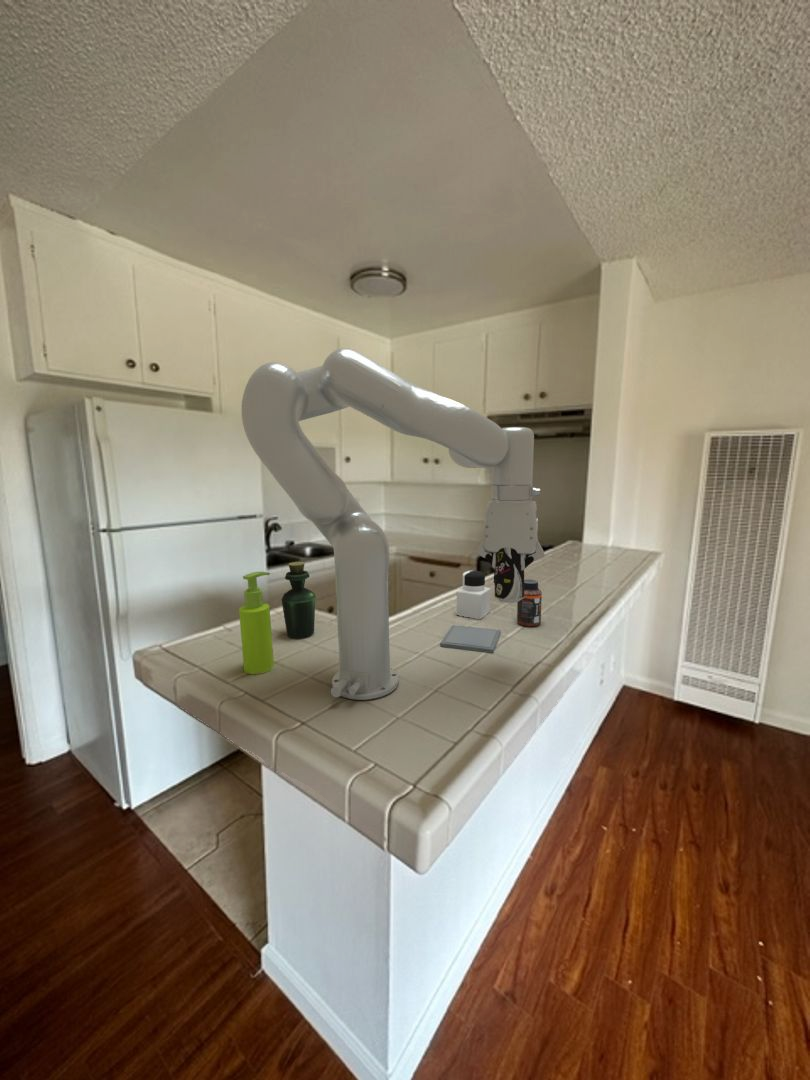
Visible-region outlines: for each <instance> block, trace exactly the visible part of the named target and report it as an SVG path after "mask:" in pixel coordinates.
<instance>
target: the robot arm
mask: <svg viewBox="0 0 810 1080" xmlns="http://www.w3.org/2000/svg"><path fill="white" fill-rule="evenodd" d="M347 408H351V409H353V410H355V411H357V412H360V413H362V414H363V415H366V416H367V417H369V418H371V419H373V420H375V421H376V422H378V423H380V424H381V425H383V426H385V427H387V428H389V429H390V430H392V431H395V432H397V433H400V434H402V435H406V436H410V437H415V438H421V439H425V440H427V441H431V442H434V443H436V444H439V445H441V446H443V447H444V448H447V449H448V455H449V456H450V458H451V460H452V461H453V463H455V464H456V465H458V466H460V467H462V468H465V469H478V468H479V469H488V468H491V493H490V494H491V496H490V497H491V498H490V500H488V501H487V504H486V508H485V514H484V523H483V531H482V533H483V534H482V539H481V541H480V543H479V545H477V548H476V550H475V553H476V555H479V556H480V557H482V558H484V559H485V561H487V562H488V563H489V564H490V565H491V566H492V568H493V584H494V583H495V569H496V568H495V567H496V566H495V565H496V564H495V563H496V553H497V552H498V551H499V550H500V549H501V548H505V547H510V548H513V549H515V550H516V551H517V553H518V554H521V565H522V568H521V569H522V570H523V576H524V577H525V569H526V568H527V567H529V566H530V565H532V563H534V562H536V561H538V560H541V559H543V558H544V557H545V555H546V553H545V551H544V549H543V547H542V545H541V543H540V542H539V519H538V517H539V516H538V507H537V501H535V500H533V501H532V499H533V498H534V497H536V496H537V497H538V496H541V488H537V487H534V486H533V478H534V477H533V474H534V473H533V472H534V449H535V448H534V447H535V445H534V444H535V435H534V431H533V430H532V429H531V428H529V427H524V426H510V427H500V425H499V424H497V423H496V422H495V421H493V420H491V419H490V418H487V416H484V415H482V414H481V413H479V412H477V410H474V409H472V408H471V407H469V406H466V405H465V404H463V403H461V402H458V401H457V400H456V401H455V400H453V399H451V398H448V397H445V396H443V395H440V394H438V393H436V392H433V391H431V390H429V389H425V388H423V387H420V386H418V385H417V384H415V383H412V382H411V381H409V380H407V379H406V378H404V377H402V376H400V375H399V374H397V373H395V372H394V371H393V370H390V369H389V368H387V367H385V366H383V365H381V364H380V363H378V362H377V361H375V360H373V359H371V358H370V357H368V356H366V355H364V354H363V353H361V352H358V351H357V350H354V349H351V348H345V347H342V348H337V349H336V350H333V351H332V352H331V353H330V354H329V355H328V356H327V357H326V359H325V360H324V362H323V364H322V365H320V366H316V367H313V368H310V369H306V370H305V369H304V370H302V371H298V372H296V370H294V368H291V367H290V366H288V365H286V364H284V363H282V362H274V361H272V362H267V363H264V364H262V365H260V366H259V367H257V368H256V369H255V370H254V371H253V373H252V374H251V375H250V377H249V379H248V380H247V383H246V385H245V387H244V392H243V395H242V399H241V409H240V411H241V420H242V426H243V429H244V433H245V435H246V437H247V438H246V439H247V440H248V443H249V444H250V446H251V447H252V450H253V451H254V452H255V454H256V455H257V457H258V458H259V459H260V461H261V462H262V464H263V465H264V466H265V468H266V469H267V470H268V471H269V473H270V474H271V475H272V477H273V478H274V479H275V481H276V482H277V483H278V484H279V486H280V487H281V488H282V489H283V490H284V492H285V493H286V494H287V496H288V497H289V498H290V499H291V501H292V502H293V503H294V505H295V506H296V508H297V509H298V512H300V514H301V515H302V516H303V517H304V518H305V519H307V520H308V521H310V522H312V524H313V525H314V526H315V527H316V529H317V530H318V531H319V532H320V533H321V535H322V536H323V537H324V538H325V539H326V540H327V542H328V543H329V544H330V545H331V546H332V549H333V557H334V575H335V576H334V577H335V599H336V600H335V603H336V617H337V618H336V619H337V637H338V638H337V641H338V642H337V643H338V659H339V660H338V662H339V663H338V664H339V670H338V671H337V672H336V673H335V674H334V675H333V677H332V679H331V689H330V694H331V696H333V697H334V698H339V697H342V698H345V699H350V700H355V701H367V700H368V701H369V700H373V699H378V698H383V697H385V696H387V695H389V694H390V693H392V692H393V691H394V690H395V689H397V687H398V685H399V674H398V673H397V671H396V670H395V669H393V668H391V659H390V656H391V655H390V654H391V651H390V649H391V648H390V619H389V617H390V613H389V612H390V611H389V569H390V568H389V567H390V566H389V565H390V546H389V542H388V541H389V540H388V538H387V535H386V534H385V532H384V530H383V529H382V527H381V526H380V525H379V524H377V522H375V521H373V519H372V518H371V516H370V515H368V513H367V512H366V511H365V509H364V508H363V507H362V506H361V504H360V503H359V502H358V501H357V499H356V498H355V497H354V495H352V493H351V491H350V490H349V489H348V487H347V485H346V483H345V482H344V481H343V479H342V478H341V477H340V476H339V475H338V474H336V473H335V472H334V470H333V469H332V468H331V467H330V465H329V464H327V462H326V460H325V459H324V458H323V457H322V456H321V454H320V453H319V452H318V451H317V449H316V448H315V446H314V445H313V444H312V442H311V441H310V440H309V438H308V437H307V435H305V433H304V431H303V430H302V428H301V426H300V425H301V424H300V423H299V422H301V421H306V420H308V419H312V418H316V417H319V416H323V415H327V414H331V413H334V412H338V411H341V410H344V409H347ZM522 570H521V571H522Z"/></svg>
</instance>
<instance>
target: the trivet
mask: <svg viewBox="0 0 810 1080" xmlns="http://www.w3.org/2000/svg"><path fill="white" fill-rule="evenodd" d="M501 631H502V630H501V629H491V628H486V627H485V628H481V627H473V626H464V625H456V624H452V625H451V627H450V628H449V629H448V630H447V633H446V634H445V635H444V637H443V638H442V640H441V642H440V643H439V647H440V648H442V647H443V648H449V649H456V650H457V649H458V650H465V651H473V652H481V653H490V654H494V652H495V649H496V647H497V644H498V642H499V639H500V636H501V634H502V632H501Z"/></svg>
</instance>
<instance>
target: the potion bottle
mask: <svg viewBox="0 0 810 1080" xmlns="http://www.w3.org/2000/svg"><path fill="white" fill-rule="evenodd" d="M288 568H289V571H288V572H286V574H285V577H284V579H285V580H287V581H289V584H290V586H291V588H290V589H289V590H287V591H286V592H284V593H283V595H282V597H281V606H282V612H283V617H284V623H285V630H286V635H287V636H288V638H290V639H295V640H299V639H301V640H302V639H306V638H309V637H312V636H313V635H314V633H315V619H316V618H315V615H316V614H315V612H316V594H315V593H314V592H313V591H312V590H311V589H308V588H307V587H305V583H306V580H307V579H309V578H310V577H311V576H310V573H309V572H308V571H307V570H304V568H305V562H303V561H293V562H290V563H288Z"/></svg>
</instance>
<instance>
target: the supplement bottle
mask: <svg viewBox="0 0 810 1080" xmlns="http://www.w3.org/2000/svg"><path fill="white" fill-rule="evenodd" d="M542 595H543V593H542V591H541V589H540V588H539V581H538V580H536V579H526V578H525V579H524V598H523V599H521V600H520V601H519V602H516V604H517V607H516V609H517V611H516V622H517V623H518V624H519V625H520V626H524V627H531V628H532V627H538V626H539V625H541V621H542V598H543V597H542Z"/></svg>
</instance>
